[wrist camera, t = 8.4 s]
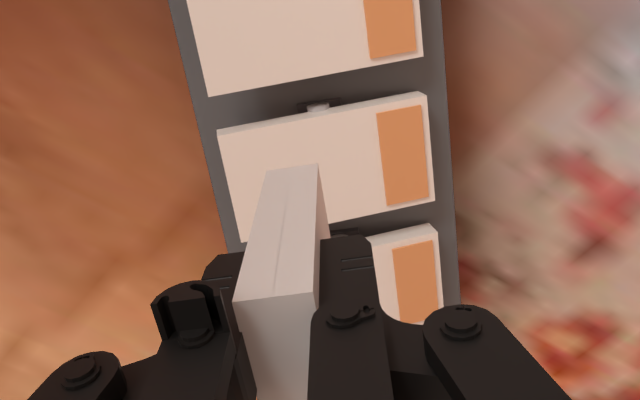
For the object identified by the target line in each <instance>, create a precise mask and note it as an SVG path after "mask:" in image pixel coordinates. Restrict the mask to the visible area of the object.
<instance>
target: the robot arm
mask: <svg viewBox="0 0 640 400" xmlns="http://www.w3.org/2000/svg"><path fill="white" fill-rule="evenodd" d="M150 306H151V309H152V311H153V314H154V317H155V320H156V323H157V326H158V329H159V332H160V335H161V338H162V342H161V345H160V347H159V350H158V352H157V354H156V355H153V356H151V357H149V358H146V359H143V360H140V361H137V362H134V363H131V364H128V365H125V366H123V367H121V365H120V362H119V360H118V358H117V357H116V356H115V355H114V354H113V353H109V352H105V351H99V352H90V353H86V354H83V355H79V356H77V357H75V358H73V359H71V360H70V361H68V362H66V363H64V364H62V365H61V366H60V367H59V368H58V369H56V370H55V371H54V372H53V373H52V374H51V375H50V376H49V377H48V378H47V379H46V380H45V381H44V382H43V383H42V384H41V386H40V387H39V388H38V389H37V390H36V391H35V392H34V393H33V394H32V395H31V396H30V397H29V398H28V399H27V400H256V396H257V399H258V400H571V398H570V397H569V396H568V395H567V394H566V393H565V392H564V391H563V390H562V389H561V387H560V386H559V385H558V384H557V383H556V382H555V381H554V380H553V379H552V378H551V376H550V375H549V374H548V373H547V372H546V371H545V370H544V369H543V368H542V366H541V365H540V364H539V363H538V362H537V361H536V360H535V359H534V358H533V357H532V355H531V354H530V353H529V352H528V351H527V350H526V349H525V348H524V347H523V346H522V344H521V343H520V342H519V341H518V340H517V339H516V338H515V337H514V336H513V334H512V333H511V332H510V331H509V330H508V329H507V328H506V327H505V326H504V325H503V323H502V322H501V321H500V320H499V319H498V318H497V317H496V316H495V315H493V314H492V313H490V312H489V311H488V310H486V309H483V308H480V307H477V306H474V305H461V304H458V305H452V306H445V307H443V308H440V309H438V310H436V311H433V312H432V313H431V314H430V315H429V316H428V317H427V318H426V319H425V321H424V324H423V325H418V324H410V323H405V322H401V321H398V320H396V319H393V318H392V317H390V316H389V315H387V314H386V313H385V312H384V311H383V309H382V307H381V305H380V301H379V294H378V287H377V280H376V273H375V267H374V260H373V253H372V246H371V243H370V242H369V241H368V240H367V239H366V238H365V237H364V236H363V235H362V234H357V235H350V236H343V237H335V238H331V237H330V231H329V225H328V219H327V213H326V208H325V202H324V196H323V190H322V184H321V178H320V173H319V167H318V163H316V164H310V165H303V166H296V167H289V168H282V169H275V170H268V171H266V174H265V178H264V182H263V185H262V189H261V193H260V197H259V201H258V204H257V208H256V212H255V216H254V220H253V223H252V227H251V231H250V235H249V239H248V242H247V246H246V250H245V251H243V252H236V253H228V254H221V255H218V256H217V257H216V258H215V259H214V260H213V261H212V262H211V263H210V264H209V265H208V266H207V267H206V269H205V271H204V274H203V277H202V279H201V280H196V281H189V282H184V283H180V284H178V285H175V286H173V287H171V288H168V289H166V290H165V291H164V292H162V293H161V294H159V295H158V296H157V297H156V298H155V299H154V300H153V302H152V303H151V304H150Z"/></svg>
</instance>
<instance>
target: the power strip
mask: <svg viewBox="0 0 640 400" xmlns="http://www.w3.org/2000/svg"><path fill="white" fill-rule="evenodd" d="M168 3H169V7H170V12H171V16H172V20H173V24H174V28H175V33H176V37H177V41H178V45H179V49H180V53H181V58H182V62H183V66H184V70H185V74H186V78H187V83H188V87H189V91H190V95H191V99H192V104H193V108H194V112H195V116H196V120H197V124H198V129H199V133H200V137H201V141H202V145H203V150H204V154H205V158H206V162H207V166H208V170H209V175H210V179H211V183H212V187H213V191H214V195H215V200H216V204H217V208H218V212H219V216H220V221H221V225H222V229H223V233H224V237H225V241H226V246H227V250H228V253H236V252H243V251H245V250H246V246H247V242H248V241H247V242H243V243H241V240H240V235H239V231H238V227H237V222H236V218H235V213H234V209H233V205H232V200H231V196H230V192H229V187H228V183H227V178H226V174H225V170H224V165H223V161H222V156H221V152H220V148H219V143H218V139H217V129H222V128H228V127H233V126H238V125H243V124H248V123H254V122H259V121H264V120H269V119H274V118H279V117H285V116H290V115H295V114H300V113H305V112H308V111H307V106H308V105H311V104H314V103H321V102H327V103H329V107H330V108H331V107H336V106H341V105H347V104H352V103H357V102H362V101H367V100H372V99H378V98H383V97H388V96H393V95H398V94H403V93H409V92H414V91H419V92H421V93H423V94H425V95H427V104H428V117H429V129H430V142H431V154H432V167H433V179H434V192H435V201H432V202H427V203H423V204H418V205H413V206H409V207H404V208H400V209H395V210H390V211H386V212H381V213H377V214H372V215H367V216H363V217H358V218H353V219H349V220H344V221H340V222H335V223H330V224H328V225H329V231H330V237H331V236H333V235H336V234H346V235H348V236H350V235H357V234H362V235H363V236H364V237H368V236H372V235H377V234H381V233H385V232H390V231H394V230H399V229H403V228H408V227H412V226H416V225H421V224H425V223H430V225H431V226H432V227H433V228H434V229H435V230H436V231H437V232H438V242H439V255H440V267H441V280H442V292H443V305H444V307H445V306H452V305H458V304H461V297H460V282H459V267H458V252H457V237H456V222H455V207H454V192H453V177H452V162H451V147H450V132H449V117H448V102H447V87H446V72H445V57H444V42H443V27H442V12H441V0H419V6H420V18H421V31H422V43H423V56H424V57H418V58H413V59H408V60H402V61H397V62H392V63H387V64H381V65H376V66H371V67H365V68H360V69H355V70H350V71H344V72H339V73H334V74H328V75H323V76H319V77H314V78H307V79H302V80H297V81H291V82H286V83H281V84H276V85H270V86H265V87H260V88H254V89H249V90H244V91H239V92H233V93H228V94H223V95H217V96H212V97H208V93H207V89H206V85H205V80H204V76H203V71H202V67H201V63H200V58H199V54H198V49H197V45H196V41H195V36H194V32H193V27H192V23H191V19H190V14H189V10H188V5H187V1H186V0H168Z"/></svg>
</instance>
